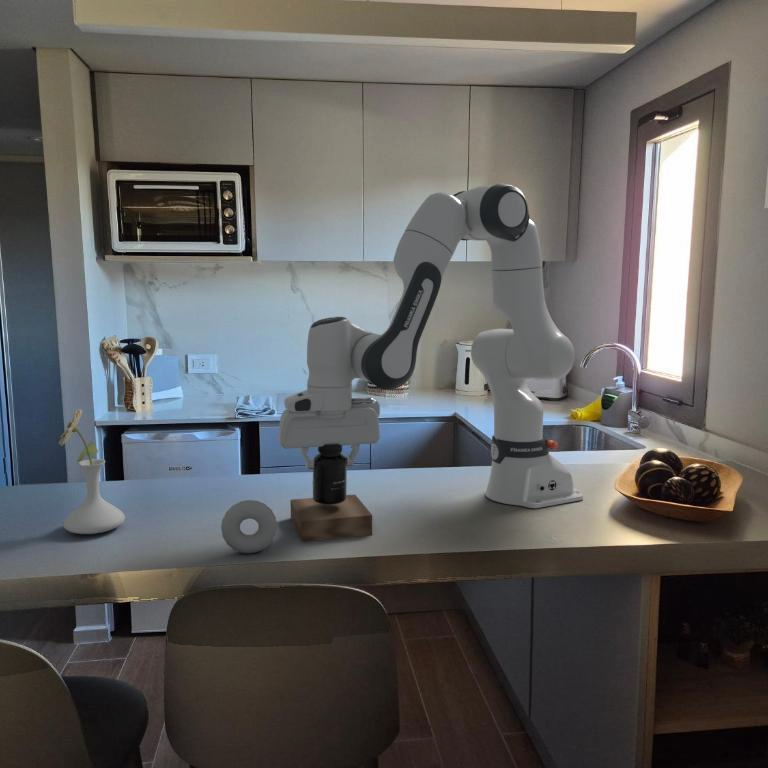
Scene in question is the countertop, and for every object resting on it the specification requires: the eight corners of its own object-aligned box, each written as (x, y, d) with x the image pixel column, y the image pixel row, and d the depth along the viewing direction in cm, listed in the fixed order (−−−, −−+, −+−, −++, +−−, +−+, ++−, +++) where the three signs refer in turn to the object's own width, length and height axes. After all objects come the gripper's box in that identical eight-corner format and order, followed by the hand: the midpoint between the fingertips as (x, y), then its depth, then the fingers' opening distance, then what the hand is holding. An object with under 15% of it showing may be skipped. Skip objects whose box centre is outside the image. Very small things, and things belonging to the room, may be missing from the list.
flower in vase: (86, 518, 141) (79, 400, 138) (136, 521, 139) (130, 402, 136) (45, 540, 128) (36, 411, 125) (100, 544, 127) (93, 413, 123)
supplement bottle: (341, 506, 132) (341, 447, 131) (308, 503, 134) (307, 445, 132) (350, 495, 139) (350, 439, 137) (318, 493, 140) (318, 437, 139)
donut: (221, 558, 120) (219, 504, 119) (222, 551, 124) (220, 498, 122) (277, 554, 122) (276, 501, 121) (277, 547, 126) (276, 496, 124)
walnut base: (355, 512, 146) (355, 494, 145) (372, 534, 133) (372, 515, 132) (290, 518, 142) (290, 499, 141) (301, 541, 129) (301, 521, 128)
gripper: (375, 395, 140) (375, 460, 141) (276, 398, 134) (277, 466, 136) (384, 399, 134) (383, 467, 135) (280, 403, 128) (281, 474, 130)
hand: (329, 467), depth 136 cm, fingers closed on supplement bottle, 7 cm apart
